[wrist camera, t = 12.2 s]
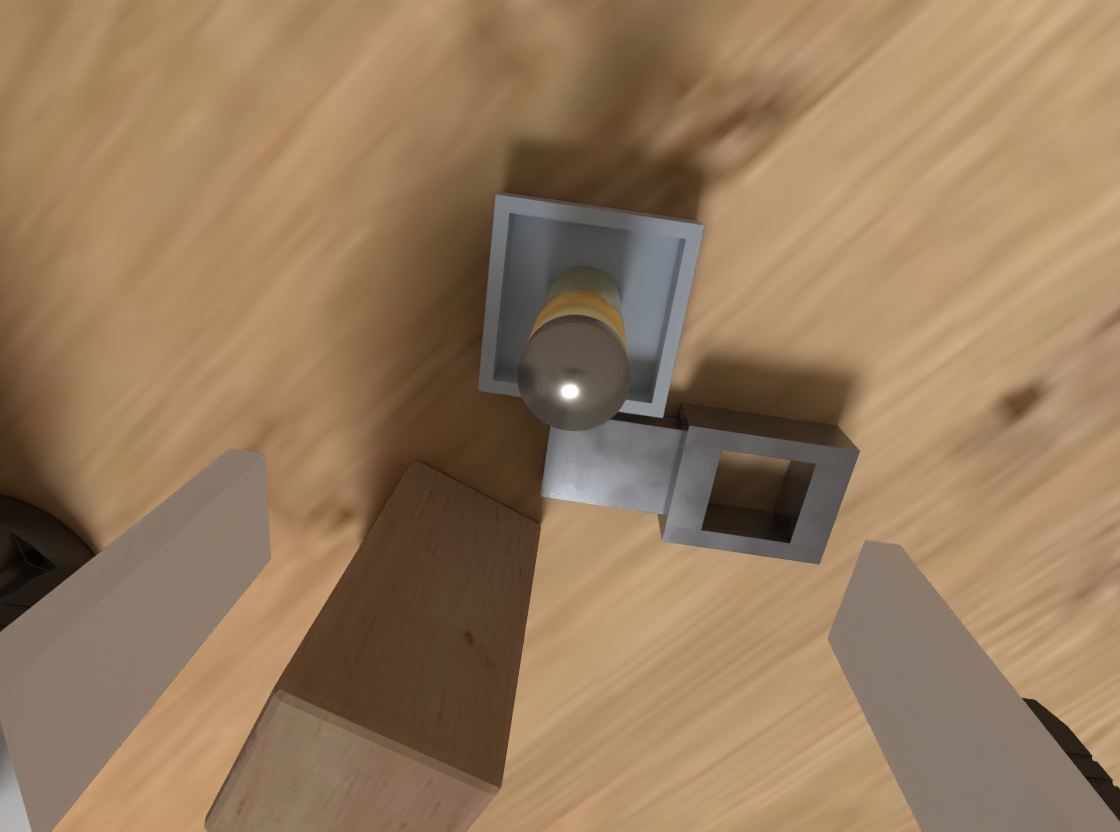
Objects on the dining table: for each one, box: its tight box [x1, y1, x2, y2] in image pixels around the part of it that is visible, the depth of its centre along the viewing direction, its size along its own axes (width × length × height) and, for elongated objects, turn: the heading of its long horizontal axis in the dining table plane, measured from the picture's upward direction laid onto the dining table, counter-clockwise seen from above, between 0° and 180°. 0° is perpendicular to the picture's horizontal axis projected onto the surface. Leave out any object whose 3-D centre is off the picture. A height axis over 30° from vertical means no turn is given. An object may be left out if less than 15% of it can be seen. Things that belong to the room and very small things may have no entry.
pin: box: [517, 266, 631, 431], centre depth 31 cm, size 4×4×14 cm
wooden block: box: [204, 461, 541, 832], centre depth 35 cm, size 10×10×20 cm
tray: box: [478, 192, 705, 418], centre depth 36 cm, size 11×11×3 cm
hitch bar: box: [540, 403, 860, 564], centre depth 40 cm, size 18×8×4 cm, turn 82°
